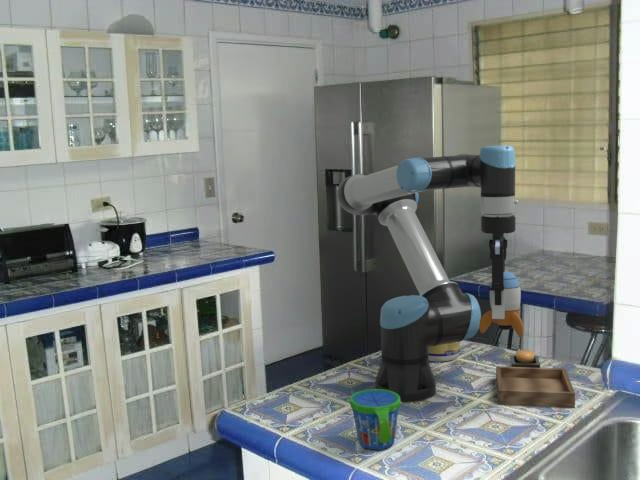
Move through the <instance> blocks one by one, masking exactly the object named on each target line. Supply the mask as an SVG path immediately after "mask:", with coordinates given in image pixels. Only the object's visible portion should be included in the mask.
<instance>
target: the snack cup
mask: <svg viewBox="0 0 640 480" xmlns="http://www.w3.org/2000/svg"><path fill="white" fill-rule="evenodd" d="M349 405H350V407H351V410H352V413H353V420H354V424H355V430H356V435H357V439H358V443H359V444H360V446H362V447H363V448H364V449H368V450H375V451H377V450H380V451H382V450H384V449H388V448H390V447H392V446H393V445H394V443H395V440H396V434H397V433H396V432H397V425H398V416H399V409H400V407H401V405H402V401H401V400H400V396H399V395H398V394H397V393H395V392H393V391H389V390H384V389H375V388H371V389H370V388H369V389H364V390H359V391H357V392H354V393H353V394H351V396H350V398H349Z"/></svg>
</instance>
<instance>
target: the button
mask: <svg viewBox="0 0 640 480" xmlns="http://www.w3.org/2000/svg"><path fill="white" fill-rule="evenodd" d="M515 355H516V360H517V361H519V362H524V363H529V362H533V361H534V356H535V352H534V351H533V350H530V349H518V350H516V351H515Z"/></svg>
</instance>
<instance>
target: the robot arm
mask: <svg viewBox="0 0 640 480" xmlns="http://www.w3.org/2000/svg"><path fill="white" fill-rule="evenodd" d="M516 165H517V162H516V153H515V148H514V146H512V145H509V144H508V145H507V144H506V145H485V146H482V147H481V148H480V153H479V154H468V153H463V154H462V153H461V154H457V155H456V154H455V155H445V156H433V157H432V156H430V157H429V156H428V157H419V156H417V157H411V158H406V159H403V160H401V161H400V163H399V164H398V165H395V166H391V167H388V168H384V169H382V170H379V171H376V172H370V173H358V174H357V173H356V174H352V175H349V176H348V177H345V178H344V179H343V180H342V181H341V182H340V183H339V185H338V187H337V191H336V197H337V201H338V203H339V205H340V207H341V208H342V209H344V211H345V212H347V213H349V214H351V215H356V216H368V215H375V216H376V218H377V220H378V222H379V224H380V225H382V226H385V227H387V228H388V231H389V233H390V235H391V237H392V239H393V241H394V244H395V245H396V248H397V249H398V252H399V254H400V255H401V258H402V260H403V263H404V264H405V266H406V269H407V271H408V274H409V275H410V277H411V279H412V282H413V283H414V285H415V287H416V290H417V292H418V293H419V295H418V294H416V295H415V294H410V295H401V296H397V297H394V298H391V299H389V300H387V301H385V302H384V304H383V305H382V306H381V307H380V308H381V309H380V319H379V325H380V343H381V344H380V345H381V347H380V348H381V349H380V353H381V354H380V355H381V361H380V362H381V363H380V365H379V368H378V372H377V376H376V379H375V382H374V383H375V384H374V385H375V386H374V389H384V390H389V391H393V392H395V393H397V394H398V395H399V396H400V400H401V403H402V402H407V403H408V402H409V403H410V402H411V403H412V402H418V401H424V400H427V399H429V398H432V397H433V396H434V395H436V392H437V382H436V379H435V376H434V373H433V370H432V368H431V365H430V361H428V347H431V346H437V345H442V344H447V343H452V342H463V341H465V340H469V339H471V338H473V337H475V335H477V333H478V331H479V330H480V328H479V323H480V319H481V318H482V311H481V307H480V304H479V302H478V300H477V298H476V297H475V296H474V295H473V294H470V293H468V292H465V293H463V291H462V289H461V288H460V286H459V283H457V282H455V281H451V280H450V279H449V277H448V275H447V273H446V270H445V269H444V266H443V265H442V262H441V261H440V260H439V257H438V256H437V253H436V251H435V250H434V247H433V246H432V243H431V242H430V240H429V238H428V236H427V233H426V231H425V230H424V228H423V226H422V224H421V222H420V220H419V218H418V216H417V214H416V211H417V209H418V203H419V199H420V198H419V195H420V194H419V193H422V192H427V191H434V190H446V189H447V190H448V189H459V188H480V214H482V216H481V217H480V231H481V232H482V233H484V234H492V239H489V241H488V248H489V259H490V261H491V282H492V286H491V285H490V286H491V288H490V287H488V291H489V292H490V291H492V319H505V305H504V272H506V271H505V269H506V267H505V266H506V264H505V263H506V260H507V249H508V239H506V237H505V235H504V234H512V233H514V232H515V231H516V216H515V215H513V214H515V213H516V205H517V204H518V203H519V201H518V199H515V198H516Z"/></svg>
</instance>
